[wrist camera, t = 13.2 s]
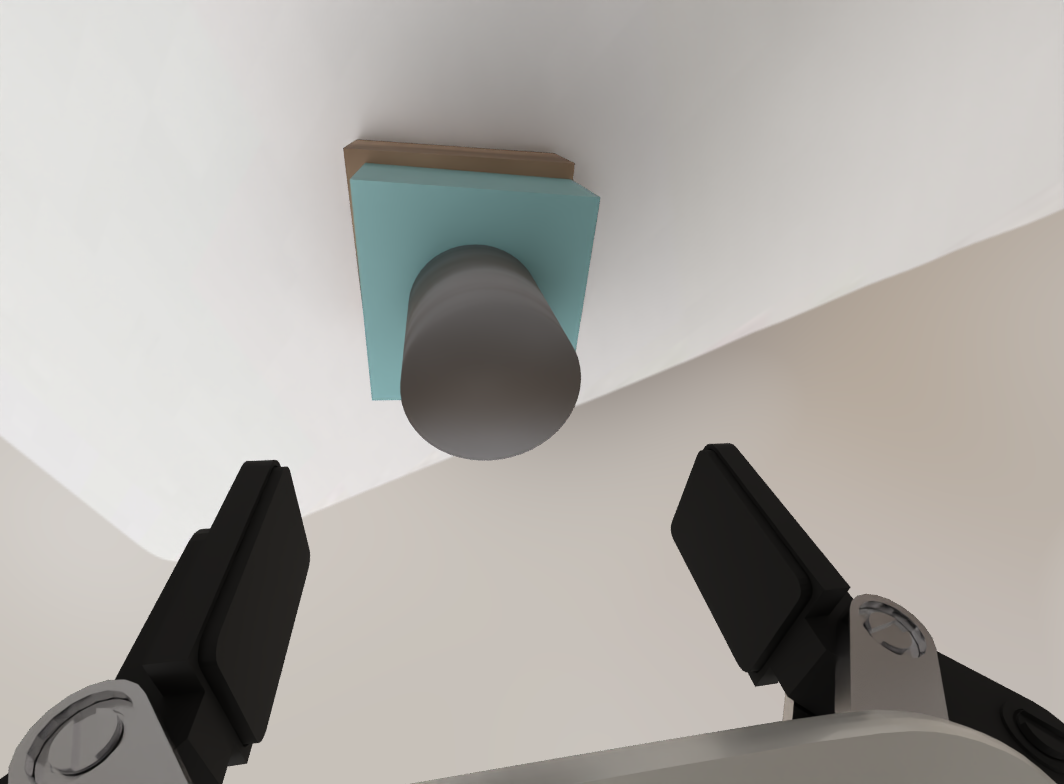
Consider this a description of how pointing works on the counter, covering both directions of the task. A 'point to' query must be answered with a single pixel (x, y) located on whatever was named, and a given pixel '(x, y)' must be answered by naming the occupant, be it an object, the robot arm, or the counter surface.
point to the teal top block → (462, 243)
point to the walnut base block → (453, 161)
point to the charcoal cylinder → (484, 357)
